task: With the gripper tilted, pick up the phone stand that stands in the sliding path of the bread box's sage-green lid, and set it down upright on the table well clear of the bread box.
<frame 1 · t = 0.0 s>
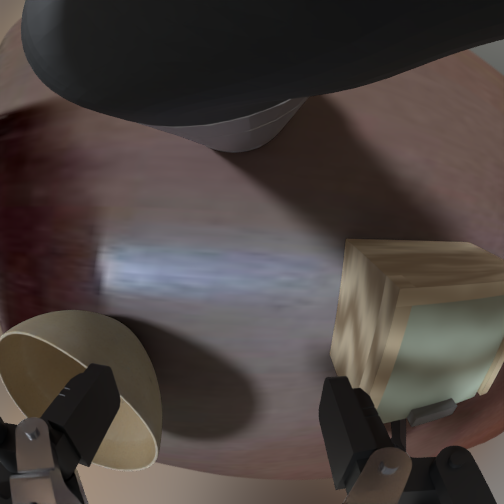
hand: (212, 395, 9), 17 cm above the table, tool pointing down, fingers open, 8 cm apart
bread box: (405, 298, 27), on the table
phone stand: (372, 403, 32), on the table
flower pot: (112, 344, 29), on the table
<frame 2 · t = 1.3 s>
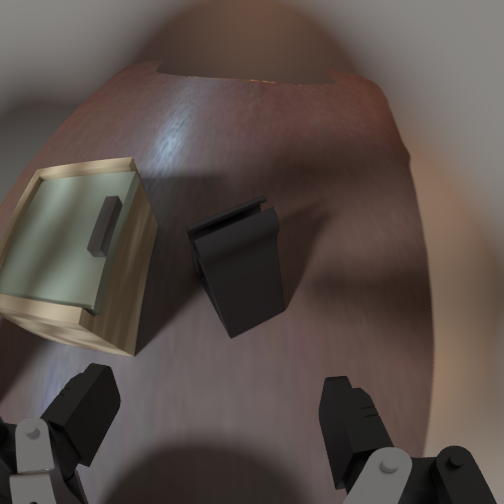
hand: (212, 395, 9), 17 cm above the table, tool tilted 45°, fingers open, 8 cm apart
bread box: (96, 281, 29), on the table
phone stand: (236, 290, 30), on the table
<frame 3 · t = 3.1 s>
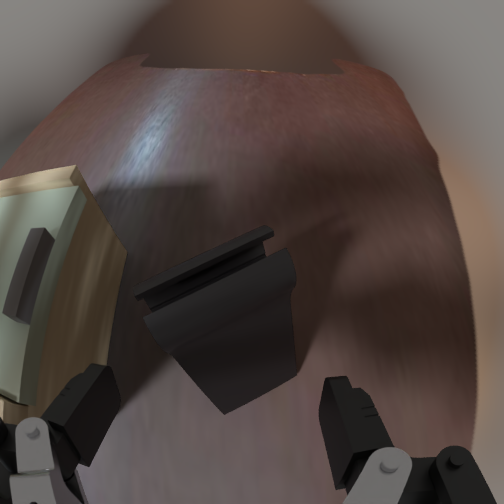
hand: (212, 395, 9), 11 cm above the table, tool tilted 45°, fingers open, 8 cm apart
bread box: (53, 326, 21), on the table
phone stand: (231, 345, 21), on the table
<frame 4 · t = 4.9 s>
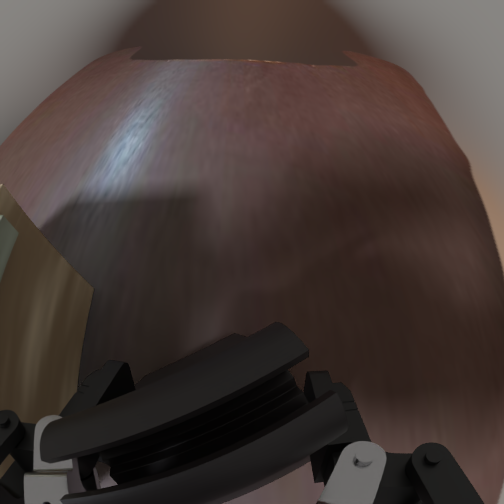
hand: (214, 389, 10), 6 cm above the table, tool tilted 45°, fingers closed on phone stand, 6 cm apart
bread box: (15, 376, 14), on the table
phone stand: (227, 421, 14), on the table, touching gripper
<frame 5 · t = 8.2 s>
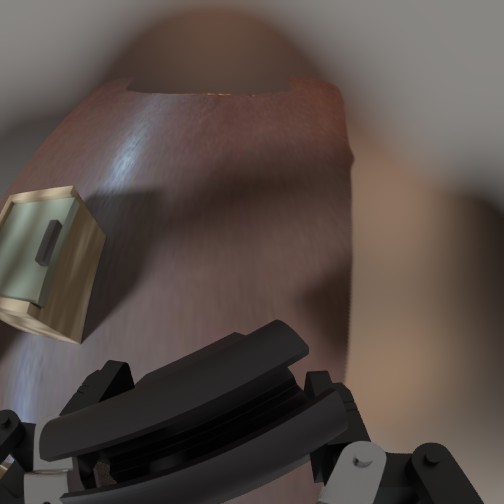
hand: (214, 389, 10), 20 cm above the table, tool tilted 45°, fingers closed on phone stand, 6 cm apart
bread box: (57, 283, 34), on the table
phone stand: (227, 421, 14), point 14 cm above the table, touching gripper
when the fingers open (7 cm above the table, at t = 11.3 s): phone stand drops 1 cm, on the table.
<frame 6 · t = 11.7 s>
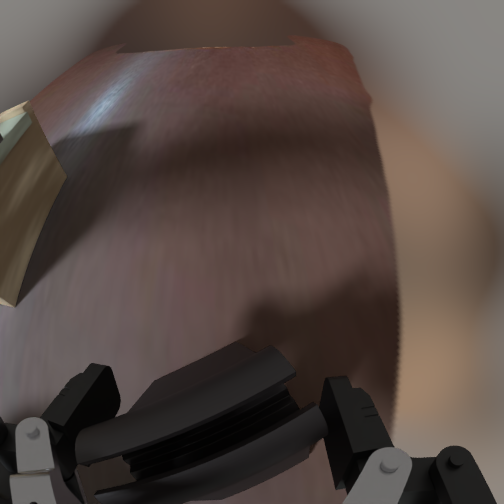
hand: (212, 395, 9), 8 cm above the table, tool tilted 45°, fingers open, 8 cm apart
bread box: (5, 235, 23), on the table
phone stand: (229, 423, 15), on the table
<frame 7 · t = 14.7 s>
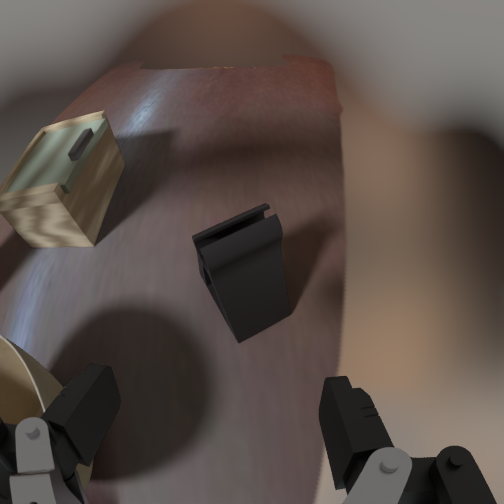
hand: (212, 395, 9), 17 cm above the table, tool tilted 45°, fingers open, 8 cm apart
bread box: (77, 204, 38), on the table
phone stand: (243, 295, 30), on the table
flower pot: (62, 438, 21), on the table
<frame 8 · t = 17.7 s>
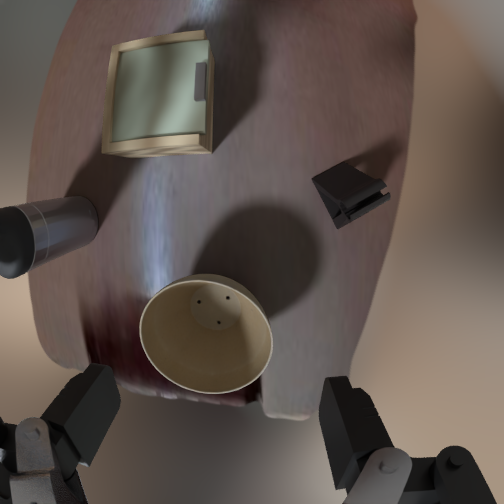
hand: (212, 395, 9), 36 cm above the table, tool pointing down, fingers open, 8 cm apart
bread box: (173, 107, 40), on the table
phone stand: (340, 195, 43), on the table
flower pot: (215, 306, 48), on the table
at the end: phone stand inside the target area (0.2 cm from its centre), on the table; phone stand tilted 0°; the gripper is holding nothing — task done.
